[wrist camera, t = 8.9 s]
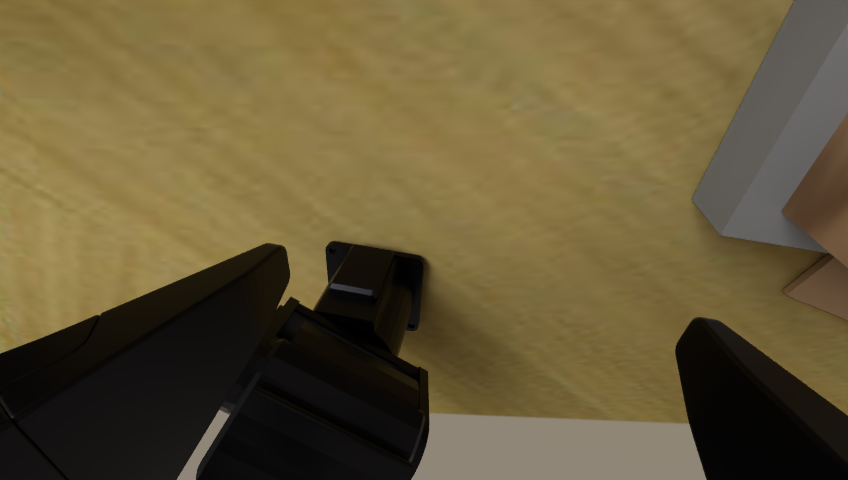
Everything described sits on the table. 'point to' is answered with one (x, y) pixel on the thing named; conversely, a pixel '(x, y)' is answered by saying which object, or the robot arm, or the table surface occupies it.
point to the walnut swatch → (823, 286)
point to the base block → (780, 128)
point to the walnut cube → (825, 197)
